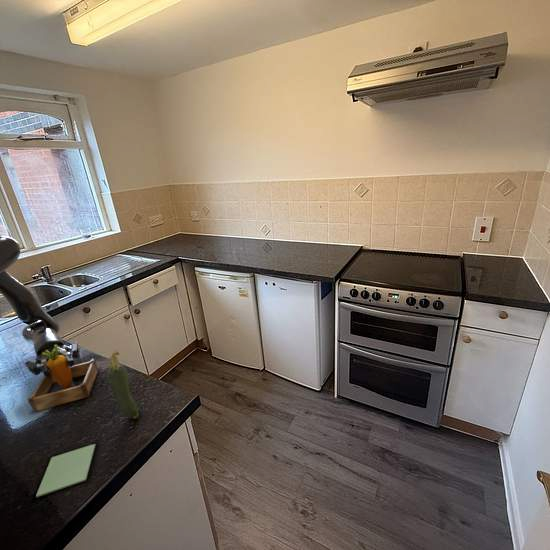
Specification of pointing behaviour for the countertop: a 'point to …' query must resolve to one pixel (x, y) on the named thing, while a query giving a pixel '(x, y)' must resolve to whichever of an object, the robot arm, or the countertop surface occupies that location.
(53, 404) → the crate
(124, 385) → the vegetable
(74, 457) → the mat
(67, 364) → the carrot
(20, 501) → the countertop surface
